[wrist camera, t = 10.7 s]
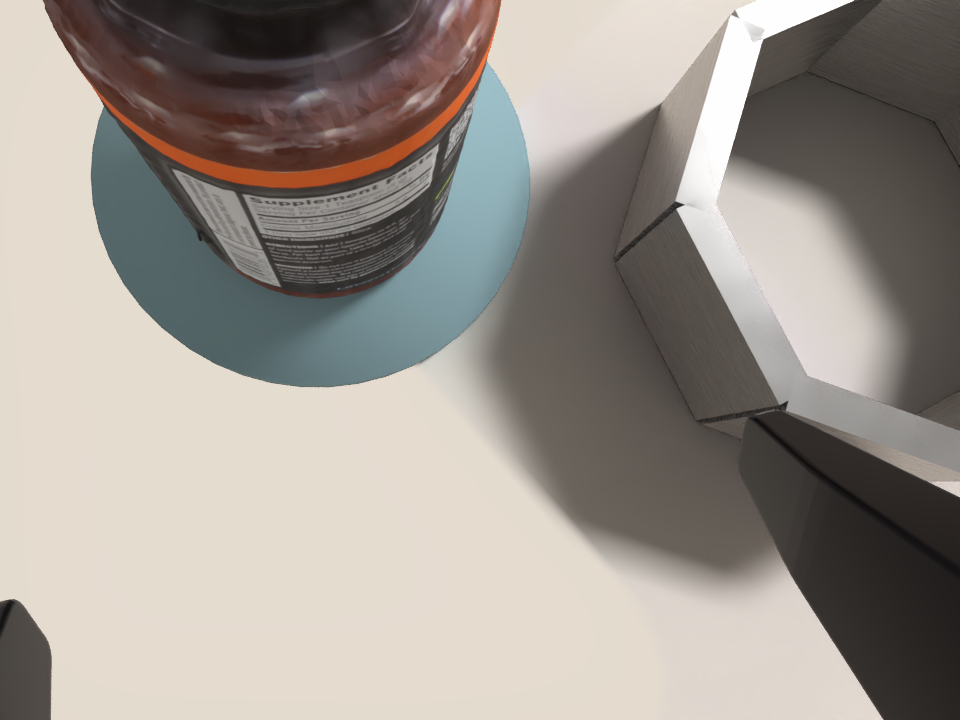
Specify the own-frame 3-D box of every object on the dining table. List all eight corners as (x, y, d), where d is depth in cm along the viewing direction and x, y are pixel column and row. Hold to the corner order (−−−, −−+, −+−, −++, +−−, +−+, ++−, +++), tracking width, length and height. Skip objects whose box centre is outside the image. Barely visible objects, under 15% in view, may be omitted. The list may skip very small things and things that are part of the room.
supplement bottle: (180, 62, 18) (-113, -584, 7) (436, 59, 19) (528, -520, 8) (190, 315, 17) (-122, 29, 6) (457, 299, 18) (593, 24, 7)
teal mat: (208, 462, 17) (204, 462, 17) (25, 70, 18) (18, 62, 18) (596, 278, 19) (601, 274, 19) (416, -70, 20) (417, -81, 20)
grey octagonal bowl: (758, 542, 19) (861, 558, 15) (554, 148, 20) (600, 65, 16) (1093, 350, 21) (1260, 320, 17) (895, 0, 22) (1011, -106, 18)
